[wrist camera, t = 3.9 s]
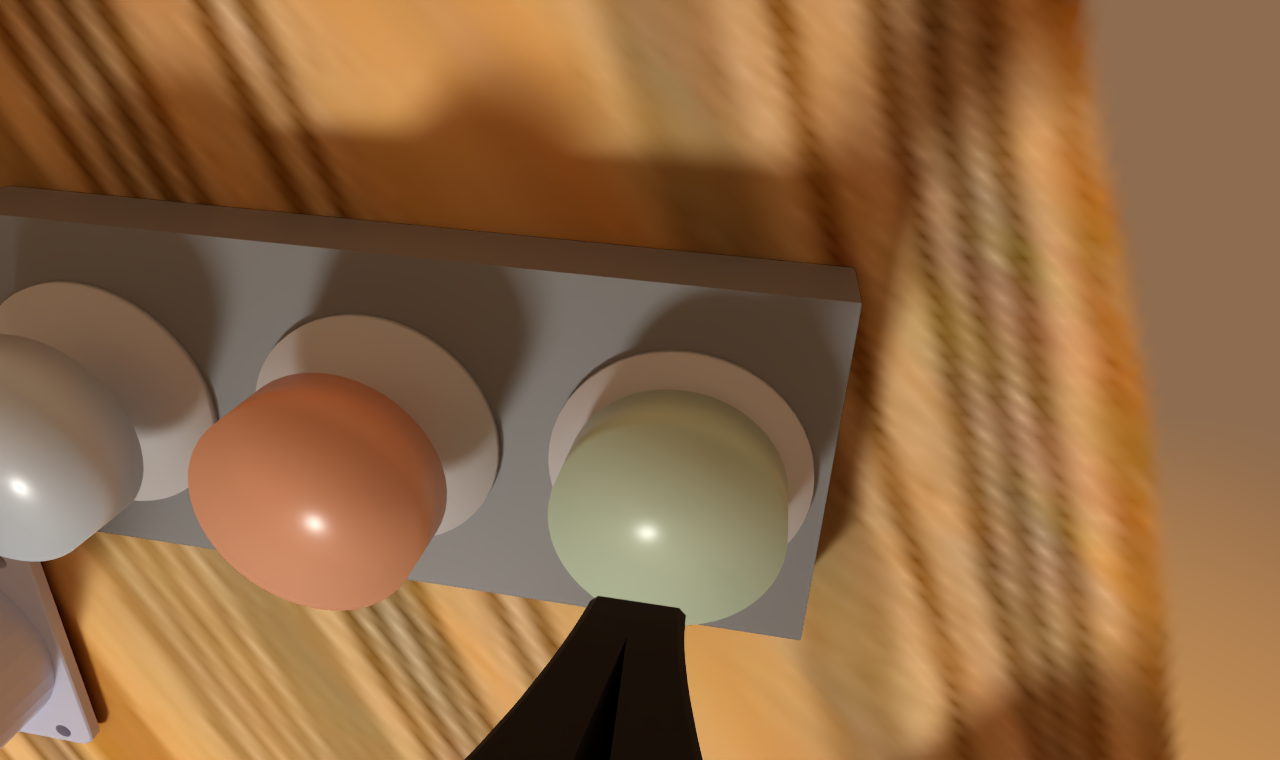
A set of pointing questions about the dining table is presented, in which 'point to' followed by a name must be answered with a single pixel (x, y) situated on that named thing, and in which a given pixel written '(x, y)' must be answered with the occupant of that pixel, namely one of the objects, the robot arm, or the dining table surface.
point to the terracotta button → (319, 491)
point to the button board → (432, 355)
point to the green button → (672, 505)
